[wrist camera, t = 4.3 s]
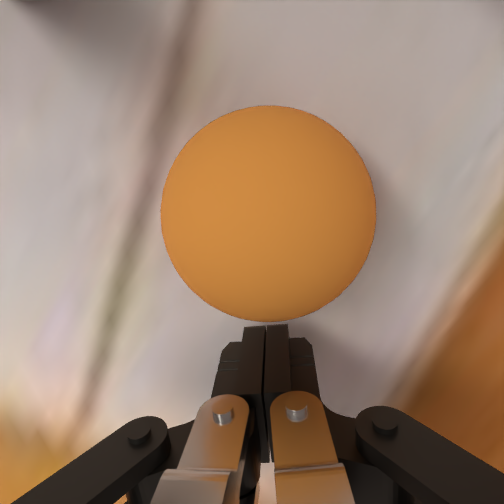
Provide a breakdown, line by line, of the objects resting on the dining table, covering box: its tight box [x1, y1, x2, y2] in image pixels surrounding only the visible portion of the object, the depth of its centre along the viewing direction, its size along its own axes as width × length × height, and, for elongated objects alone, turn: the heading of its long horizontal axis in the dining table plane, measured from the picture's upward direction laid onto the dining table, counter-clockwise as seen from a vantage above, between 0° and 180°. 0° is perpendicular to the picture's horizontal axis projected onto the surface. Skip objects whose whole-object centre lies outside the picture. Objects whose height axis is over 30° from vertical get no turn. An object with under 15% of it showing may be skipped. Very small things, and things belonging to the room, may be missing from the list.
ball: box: [161, 106, 376, 322], centre depth 10 cm, size 6×6×6 cm
